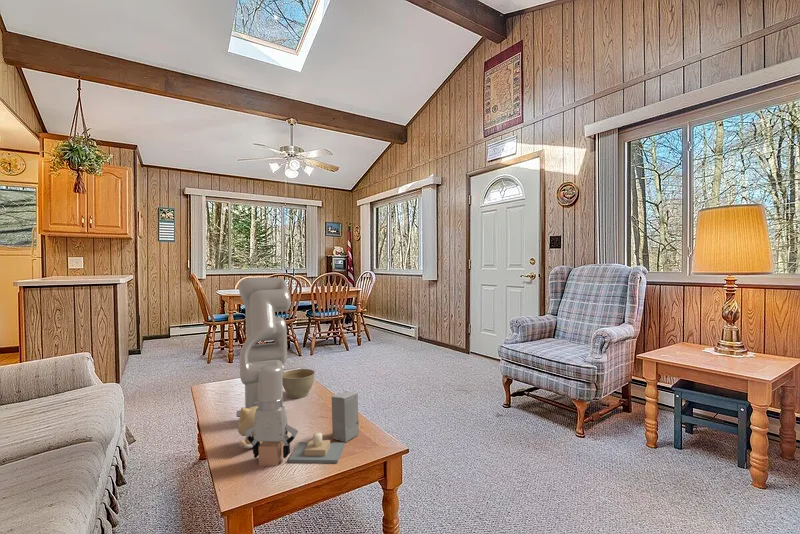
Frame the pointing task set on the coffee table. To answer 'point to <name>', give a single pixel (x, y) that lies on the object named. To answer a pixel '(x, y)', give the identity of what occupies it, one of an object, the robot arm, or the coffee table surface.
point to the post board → (317, 459)
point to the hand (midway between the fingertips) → (271, 456)
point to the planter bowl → (298, 382)
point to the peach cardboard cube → (270, 453)
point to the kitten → (246, 424)
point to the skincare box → (345, 416)
